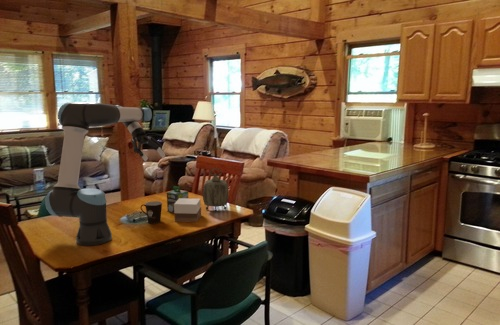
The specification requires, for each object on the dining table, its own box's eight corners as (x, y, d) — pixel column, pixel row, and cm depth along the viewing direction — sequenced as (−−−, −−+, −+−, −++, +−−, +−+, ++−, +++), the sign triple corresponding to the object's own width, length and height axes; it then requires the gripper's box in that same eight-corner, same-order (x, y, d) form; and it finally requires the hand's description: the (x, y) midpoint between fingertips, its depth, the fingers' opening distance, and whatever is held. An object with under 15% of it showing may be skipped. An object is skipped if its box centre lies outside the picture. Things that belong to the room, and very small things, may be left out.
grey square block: (197, 222, 205) (197, 213, 204) (174, 222, 206) (174, 213, 205) (201, 215, 217) (201, 207, 216) (180, 215, 218) (179, 206, 217)
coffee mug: (165, 221, 205) (165, 203, 204) (151, 225, 199) (151, 206, 198) (153, 216, 213) (152, 199, 212) (139, 220, 207) (138, 202, 205)
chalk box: (189, 210, 227) (188, 185, 225) (178, 214, 219) (178, 188, 217) (177, 207, 232) (177, 183, 229) (166, 211, 224) (166, 186, 222)
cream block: (196, 213, 204) (196, 204, 203) (174, 213, 205) (174, 204, 204) (200, 207, 216) (200, 198, 215) (179, 207, 216) (179, 198, 216)
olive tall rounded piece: (228, 208, 230) (228, 167, 226) (228, 213, 221) (227, 170, 217) (204, 208, 230) (203, 167, 226) (202, 213, 221) (202, 170, 217)
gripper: (149, 133, 242) (167, 159, 236) (116, 137, 221) (135, 165, 215) (155, 125, 238) (174, 151, 232) (122, 128, 217) (141, 157, 212)
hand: (155, 158), depth 224 cm, fingers open, 13 cm apart
